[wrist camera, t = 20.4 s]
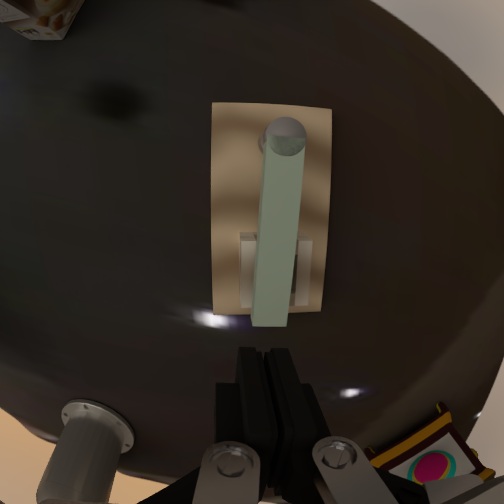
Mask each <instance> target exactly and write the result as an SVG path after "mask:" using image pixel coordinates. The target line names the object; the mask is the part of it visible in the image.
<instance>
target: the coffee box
mask: <svg viewBox="0 0 504 504" xmlns="http://www.w3.org/2000/svg"><path fill="white" fill-rule="evenodd" d="M84 1H85V0H0V22H2V23H4V24H5V25H7V26H9V27H10V28H12V29H14V30H15V31H17V32H19V33H20V34H22V35H23V36H25V37H27V38H28V39H30V40H62V39H63V38H64V37H65V35H66V33H67V31H68V29H69V27H70V25H71V24H72V22H73V20H74V18H75V16H76V14H77V13H78V11H79V9H80V8H81V6H82V4H83V3H84Z"/></svg>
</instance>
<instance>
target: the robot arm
mask: <svg viewBox="0 0 504 504" xmlns="http://www.w3.org/2000/svg"><path fill="white" fill-rule="evenodd" d="M62 420H63V423H64V425H65V428H64V430H63V432H62V434H61V436H60V438H59V440H58V443H57V445H56V447H55V449H54V451H53V454H52V456H51V458H50V460H49V462H48V465H47V467H46V470H45V472H44V474H43V477H42V479H41V481H40V484H39V486H38V489H37V493H36V500H37V504H110V503H108V502H109V497H110V492H111V489H112V485H113V481H114V477H115V473H116V470H117V469H118V462H119V458H120V454H121V453H124V452H127V451H129V450H130V449H131V448H132V446H133V444H134V439H135V437H134V432H133V429H132V428H131V426H130V425H129V423H128V422H127V421H126V420H125V419H124V418H123V417H122V416H121V415H119V414H118V413H117V412H115V411H114V410H112V409H110V408H109V407H107V406H105V405H102V404H100V403H97V402H94V401H91V400H85V399H76V400H72V401H69V402H68V403H67V404H66V405H65V406H64V408H63V410H62ZM266 483H267V486H268V488H274V493H275V496H279V495H282V499H284V500H286V501H287V502H289V503H290V504H504V475H503V476H500V477H496V478H494V479H491V480H489V481H486V482H483V480H482V479H481V478H480V477H479V476H477V475H474V474H465V475H460V476H456V477H450V478H445V479H439V480H433V481H427V482H424V483H423V484H422V485H420V484H418V483H416V482H414V481H411V480H408V479H405V478H403V477H400V476H397V475H395V474H392V473H389V472H387V471H384V470H382V469H379V468H377V467H375V466H372V465H371V463H370V462H369V460H368V459H367V458H366V456H365V455H364V453H363V452H362V450H361V449H360V447H359V446H358V445H357V444H356V443H355V442H353V441H351V440H350V439H347V438H344V437H338V436H331V434H330V431H329V429H328V426H327V424H326V421H325V419H324V416H323V414H322V411H321V409H320V406H319V404H318V401H317V399H316V396H315V394H314V391H313V389H312V386H311V385H310V384H309V383H308V384H301V383H300V381H299V378H298V375H297V372H296V369H295V367H294V364H293V361H292V358H291V355H290V353H289V350H288V348H271V350H270V352H265V355H264V361H263V357H262V353H261V352H256V349H255V347H239V349H238V358H237V368H236V378H235V383H216V386H215V409H214V445H212V446H211V447H209V448H208V449H207V450H206V452H205V454H204V456H203V460H202V464H201V466H200V467H198V468H197V469H195V470H193V471H192V472H190V473H189V474H187V475H186V476H184V477H182V478H181V479H179V480H177V481H176V482H174V483H172V484H171V485H169V486H167V487H166V488H164V489H162V490H160V491H159V492H157V493H155V494H153V495H152V496H150V497H148V498H146V499H144V500H142V501H140V502H139V503H137V504H258V503H259V502H260V501H261V500H262V496H263V493H264V490H265V487H266ZM0 504H5V503H3V502H2V501H0Z"/></svg>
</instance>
